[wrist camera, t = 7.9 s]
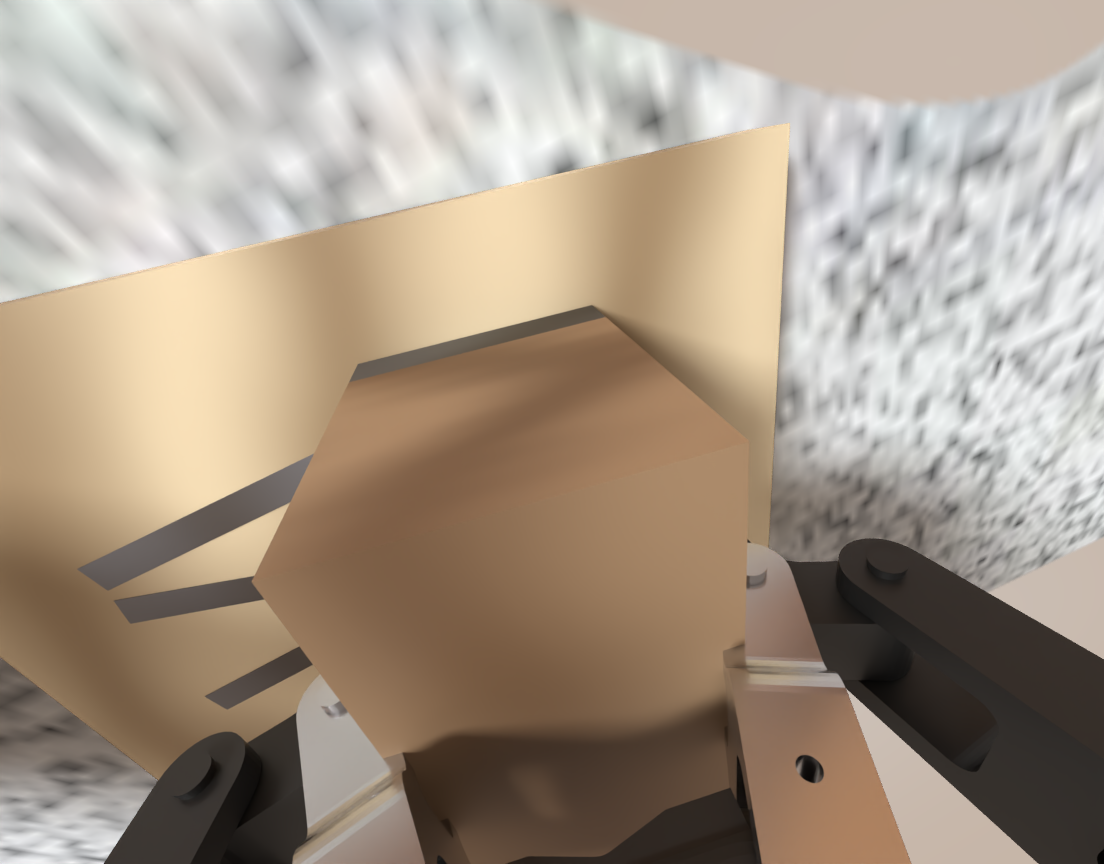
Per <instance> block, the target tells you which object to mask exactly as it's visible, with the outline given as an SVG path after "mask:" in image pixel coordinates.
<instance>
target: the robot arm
mask: <svg viewBox="0 0 1104 864" xmlns="http://www.w3.org/2000/svg"><path fill="white" fill-rule="evenodd" d="M723 673H724V680H725V687H726V696H727V709H728V726H726V727H724V742H725V750H726V758H727V767H728V778H729V788H728V789H725V790H722V791H719V792H716V793H713V794H710V795H707V796H704V797H701V798H698V799H695V800H692V801H689V802H686V803H683V804H680V805H678V806H675V807H672V808H669V809H666V810H664V811H663V812H662V813H660V814H659V815H658V816H657V817H655V818H654V819H653V820H651V821H650V822H649V823H647V824H646V825H645V826H643V827H642V828H641V829H639V830H638V831H637V832H635V833H634V834H633V835H631V836H630V837H629V838H627V839H626V840H625V841H623V842H622V843H621V844H619V845H618V846H617V847H615V848H614V849H613V850H611V851H610V852H608V853H607V854H605V855H602V856H597V857H561V856H527V857H524V858H521V859H518V860H515V861H512V862H509V863H506V864H911V861H910V858H909V856H908V853H907V850H906V848H905V845H904V842H903V840H902V837H901V834H900V832H899V829H898V826H897V824H896V821H895V818H894V816H893V813H892V810H891V807H890V805H889V802H888V799H887V797H886V794H885V792H884V789H883V786H882V783H881V781H880V778H879V775H878V773H877V770H876V767H875V765H874V762H873V759H872V757H871V754H870V751H869V749H868V746H867V743H866V741H865V738H864V735H863V733H862V730H861V727H860V725H859V722H858V719H857V717H856V714H855V711H854V708H853V706H852V703H851V701H850V698H849V695H848V693H847V690H848V691H850V692H851V693H852V694H853V695H854V696H855V697H856V698H857V699H858V700H859V701H860V702H862V703H863V704H864V705H865V706H866V707H867V708H868V709H869V710H870V711H871V712H873V713H874V714H875V715H876V716H877V717H878V718H879V719H880V720H881V721H882V722H883V723H885V724H886V725H887V726H888V727H889V728H890V729H891V730H892V731H893V732H894V733H896V734H897V735H898V736H899V737H900V738H901V739H902V740H903V741H904V742H905V743H907V744H908V745H909V746H910V747H911V748H912V749H913V750H914V751H915V752H916V753H918V754H919V755H920V756H921V757H922V758H923V759H924V760H925V761H926V762H927V763H929V764H930V765H931V766H932V767H933V768H934V769H935V770H936V771H937V772H938V773H940V774H941V775H942V776H943V777H944V778H945V779H946V780H947V781H948V782H949V783H951V784H952V785H953V786H954V787H955V788H956V789H957V790H958V791H959V792H960V793H962V794H963V795H964V796H965V797H966V798H967V799H968V800H969V801H970V802H971V803H973V804H974V805H975V806H976V807H977V808H978V809H979V810H980V811H981V812H982V813H983V814H985V815H986V816H987V817H988V818H989V819H990V820H991V821H992V822H993V823H994V824H996V825H997V826H998V827H999V828H1000V829H1001V830H1002V831H1003V832H1004V833H1006V834H1007V835H1008V836H1009V837H1010V838H1011V839H1012V840H1013V841H1014V842H1015V843H1016V844H1017V845H1019V846H1020V847H1021V848H1022V849H1023V850H1024V851H1025V852H1026V853H1027V854H1028V855H1030V856H1031V857H1032V858H1033V859H1034V860H1035V861H1036V862H1037V863H1039V864H1104V659H1102V658H1100V657H1098V656H1097V655H1095V654H1093V653H1092V652H1090V651H1088V650H1086V649H1085V648H1083V647H1081V646H1079V645H1078V644H1076V643H1074V642H1072V641H1071V640H1069V639H1067V638H1065V637H1064V636H1062V635H1060V634H1058V633H1057V632H1055V631H1053V630H1052V629H1050V628H1048V627H1046V626H1044V625H1043V624H1041V623H1039V622H1038V621H1036V620H1034V619H1032V618H1031V617H1029V616H1027V615H1025V614H1024V613H1022V612H1020V611H1019V610H1016V609H1015V608H1013V607H1012V606H1010V605H1008V604H1006V603H1005V602H1003V601H1001V600H999V599H998V598H996V597H994V596H992V595H991V594H989V593H987V592H985V591H984V590H982V589H980V588H978V587H977V586H975V585H973V584H971V583H970V582H968V581H966V580H965V579H963V578H961V577H959V576H958V575H956V574H954V573H952V572H951V571H949V570H947V569H945V568H944V567H942V566H940V565H938V564H937V563H935V562H933V561H931V560H930V559H928V558H926V557H924V556H923V555H921V554H919V553H917V552H916V551H914V550H912V549H910V548H908V547H906V546H904V545H901V544H899V543H895V542H892V541H888V540H883V539H861V540H856V541H853V542H851V543H849V544H847V545H846V546H845V547H844V548H843V549H842V550H841V552H840V554H839V559H838V561H836V562H792V561H786V560H785V559H784V558H783V557H782V556H781V555H779V554H778V553H777V552H775V551H774V550H772V549H770V548H768V547H765V546H762V545H759V544H754V543H751V542H750V541H749V540H748V538H747V577H746V621H745V644H742V645H739V646H736V647H733V648H730V649H727V650H723ZM846 689H847V690H846ZM104 864H471V863H470V861H469V859H468V857H467V855H466V853H465V850H464V848H463V846H462V843H461V841H460V838H459V835H458V832H457V830H456V829H455V827H454V826H453V824H452V823H451V822H450V820H449V819H448V818H447V819H444V820H441V821H440V820H439V819H438V818H437V816H436V815H435V813H434V812H433V811H432V809H431V808H430V806H429V805H428V803H427V801H426V799H425V797H424V795H423V792H422V790H421V788H420V785H419V783H418V780H417V777H416V774H415V771H414V769H413V767H412V766H411V764H410V763H409V761H408V760H407V758H406V757H405V756H404V754H403V753H399V754H396V755H393V756H389V757H386V758H382V757H381V755H380V754H379V753H378V751H377V750H376V749H375V747H374V746H373V745H372V743H371V742H370V741H369V739H368V738H367V737H366V735H365V734H364V733H363V731H362V730H361V729H360V727H359V726H358V725H357V723H356V722H355V720H354V719H353V718H352V716H351V715H350V714H349V712H348V711H347V710H346V708H345V707H344V706H343V704H342V703H341V702H340V700H339V699H338V698H337V696H336V695H335V694H334V692H333V691H332V690H331V688H330V687H329V686H328V684H327V683H326V681H325V680H324V679H323V677H322V676H321V675H319V676H318V677H317V678H316V679H315V680H314V681H313V682H312V683H311V684H310V686H309V687H308V688H307V690H306V691H305V693H304V694H303V696H302V698H301V700H300V703H299V706H298V709H297V712H296V713H295V714H293V715H292V716H290V717H289V718H287V719H286V720H284V721H283V722H281V723H279V724H278V725H276V726H274V727H273V728H271V729H269V730H268V731H266V732H264V733H263V734H261V735H259V736H258V737H256V738H254V739H253V740H251V741H249V742H248V743H247V742H246V741H245V740H244V739H243V738H242V737H241V736H239V735H238V734H237V733H234V732H220V733H216V734H213V735H210V736H208V737H206V738H204V739H202V740H200V741H199V742H197V743H195V744H194V745H193V746H191V747H190V748H189V749H187V750H186V751H185V752H184V753H182V754H181V755H180V756H179V757H178V758H177V759H176V760H175V761H174V762H173V763H172V764H171V765H170V766H169V768H168V769H167V770H166V771H165V772H164V773H163V775H162V776H161V778H160V779H159V780H158V782H157V783H156V785H155V786H154V788H153V789H152V791H151V792H150V794H149V796H148V797H147V799H146V800H145V802H144V803H143V805H142V806H141V808H140V809H139V811H138V812H137V814H136V815H135V817H134V818H133V820H132V821H131V823H130V824H129V826H128V827H127V829H126V830H125V832H124V834H123V835H122V837H121V838H120V840H119V841H118V843H117V844H116V846H115V847H114V849H113V850H112V852H111V853H110V855H109V856H108V858H107V859H106V861H105V862H104Z"/></svg>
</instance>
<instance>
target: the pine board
mask: <svg viewBox="0 0 1104 864" xmlns="http://www.w3.org/2000/svg"><path fill="white" fill-rule="evenodd" d="M789 134H790V123H787V124H781V125H775V126H769V127H763V128H757V129H751V130H746V131H741V132H737V133H733V134H728V135H724V136H720V137H715V138H711V139H707V140H702V141H698V142H694V143H690V144H685V145H681V146H677V147H672V148H668V149H664V150H659V151H655V152H651V153H646V154H642V155H638V156H633V157H629V158H625V159H620V160H616V161H612V162H608V163H603V164H599V165H595V166H590V167H586V168H582V169H577V170H573V171H569V172H564V173H560V174H556V175H551V176H547V177H543V178H538V179H534V180H530V181H526V182H521V183H517V184H513V185H508V186H504V187H500V188H495V189H491V190H487V191H482V192H478V193H474V194H469V195H465V196H461V197H456V198H452V199H448V200H444V201H439V202H435V203H431V204H426V205H422V206H418V207H413V208H409V209H405V210H400V211H396V212H392V213H387V214H383V215H379V216H374V217H370V218H366V219H362V220H357V221H353V222H349V223H344V224H340V225H336V226H331V227H327V228H323V229H318V230H314V231H310V232H305V233H301V234H297V235H292V236H288V237H284V238H280V239H275V240H271V241H267V242H262V243H258V244H254V245H249V246H245V247H241V248H236V249H232V250H228V251H223V252H219V253H215V254H210V255H206V256H202V257H198V258H193V259H189V260H185V261H180V262H176V263H172V264H167V265H163V266H159V267H154V268H150V269H146V270H141V271H137V272H133V273H128V274H124V275H120V276H116V277H111V278H107V279H103V280H98V281H94V282H90V283H85V284H81V285H77V286H72V287H68V288H64V289H59V290H55V291H51V292H46V293H42V294H38V295H34V296H29V297H25V298H21V299H16V300H12V301H8V302H3V303H0V657H1V658H2V659H3V660H4V661H6V662H7V663H8V664H10V665H11V666H12V667H13V668H15V669H16V670H17V671H19V672H20V673H21V674H22V675H24V676H25V677H26V678H28V679H29V680H30V681H31V682H33V683H34V684H35V685H37V686H38V687H39V688H40V689H42V690H43V691H44V692H46V693H47V694H48V695H49V696H51V697H52V698H53V699H55V700H56V701H57V702H58V703H60V704H61V705H62V706H64V707H65V708H66V709H67V710H69V711H70V712H71V713H72V714H74V715H75V716H76V717H78V718H79V719H80V720H81V721H83V722H84V723H85V724H87V725H88V726H89V727H90V728H92V729H93V730H94V731H96V732H97V733H98V734H99V735H101V736H102V737H103V738H105V739H106V740H107V741H108V742H110V743H111V744H112V745H114V746H115V747H116V748H117V749H119V750H120V751H121V752H123V753H124V754H125V755H126V756H128V757H129V758H130V759H132V760H133V761H134V762H135V763H137V764H138V765H139V766H141V767H142V768H143V769H144V770H146V771H147V772H148V773H150V774H151V775H152V776H153V777H155V778H156V779H157V780H159V779H160V778H161V776H162V775H163V773H164V772H165V771H166V770H167V769H168V768H169V766H170V765H171V764H172V763H173V762H174V761H175V760H176V759H177V758H178V757H179V756H180V755H181V754H182V753H184V752H185V751H186V750H187V749H189V748H190V747H191V746H193V745H194V744H195V743H197V742H199V741H200V740H202V739H204V738H206V737H208V736H210V735H213V734H216V733H220V732H234V733H237V734H238V735H239V736H241V737H242V738H243V739H244V740H245V741H246V742H247V743H248V742H249V741H251V740H253V739H254V738H256V737H258V736H259V735H261V734H263V733H264V732H266V731H268V730H269V729H271V728H273V727H274V726H276V725H278V724H279V723H281V722H283V721H284V720H286V719H287V718H289V717H290V716H292V715H293V714H295V713H296V712H297V709H298V706H299V703H300V700H301V698H302V696H303V694H304V693H305V691H306V690H307V688H308V687H309V686H310V684H311V683H312V682H313V681H314V680H315V679H316V678H317V677H318V676H319V675H320V673H319V672H318V671H317V669H316V668H315V667H314V665H313V664H312V663H311V661H310V660H309V659H308V657H307V656H306V655H305V653H304V652H303V651H302V649H301V648H300V647H299V645H298V644H297V642H296V641H295V640H294V638H293V637H292V636H291V634H290V633H289V632H288V630H287V629H286V628H285V626H284V625H283V624H282V622H281V621H280V620H279V618H278V617H277V616H276V614H275V613H274V612H273V610H272V609H271V608H270V606H269V605H268V603H267V602H266V601H265V599H264V598H263V597H262V595H261V594H260V593H259V591H258V590H257V589H256V587H255V586H254V585H253V583H252V580H253V578H254V576H255V574H256V571H257V569H258V567H259V565H260V563H261V561H262V559H263V557H264V555H265V553H266V551H267V549H268V547H269V545H270V543H271V541H272V539H273V537H274V535H275V533H276V531H277V528H278V526H279V524H280V522H281V520H282V518H283V516H284V514H285V512H286V510H287V508H288V506H289V504H290V502H291V500H292V498H293V496H294V494H295V492H296V490H297V488H298V486H299V483H300V481H301V479H302V477H303V475H304V473H305V471H306V469H307V467H308V465H309V463H310V461H311V459H312V457H313V455H314V453H315V451H316V449H317V447H318V445H319V443H320V440H321V438H322V436H323V434H324V432H325V430H326V428H327V426H328V424H329V422H330V420H331V418H332V416H333V414H334V412H335V410H336V408H337V406H338V404H339V402H340V400H341V397H342V395H343V393H344V391H345V389H346V387H347V385H348V383H349V381H350V379H351V377H352V375H353V373H354V371H355V369H356V367H357V365H358V364H360V363H364V362H368V361H372V360H376V359H380V358H384V357H388V356H392V355H396V354H400V353H404V352H408V351H411V350H415V349H419V348H423V347H427V346H431V345H435V344H439V343H443V342H447V341H451V340H455V339H459V338H463V337H467V336H471V335H475V334H479V333H483V332H487V331H491V330H495V329H499V328H503V327H507V326H511V325H515V324H519V323H523V322H527V321H531V320H535V319H539V318H542V317H546V316H550V315H554V314H558V313H562V312H566V311H570V310H574V309H578V308H582V307H586V306H590V305H592V306H594V307H595V308H596V309H597V310H598V311H599V312H601V313H602V314H603V315H604V316H605V317H606V318H608V319H609V320H610V321H611V322H612V323H613V324H614V325H616V326H617V327H618V328H619V329H620V330H621V331H623V332H624V333H625V334H626V335H627V336H628V337H629V338H631V339H632V340H633V341H634V342H635V343H636V344H638V345H639V346H640V347H641V348H642V349H643V350H644V351H646V352H647V353H648V354H649V355H650V356H651V357H653V358H654V359H655V360H656V361H657V362H658V363H659V364H661V365H662V366H663V367H664V368H665V369H666V370H668V371H669V372H670V373H671V374H672V375H673V376H675V377H676V378H677V379H678V380H679V381H680V382H681V383H683V384H684V385H685V386H686V387H687V388H688V389H690V390H691V391H692V392H693V393H694V394H695V395H696V396H698V397H699V398H700V399H701V400H702V401H703V402H705V403H706V404H707V405H708V406H709V407H710V408H711V409H713V410H714V411H715V412H716V413H717V414H718V415H720V416H721V417H722V418H723V419H724V420H725V421H727V422H728V423H729V424H730V425H731V426H732V427H733V428H735V429H736V430H737V431H738V432H739V433H740V434H742V435H743V436H744V437H745V438H746V439H747V440H748V441H750V444H749V488H748V533H747V538H748V540H749V541H750V542H751V543H754V544H759V545H762V546H765V547H768V548H769V529H770V509H771V489H772V470H773V450H774V430H775V410H776V391H777V371H778V351H779V331H780V312H781V292H782V272H783V252H784V233H785V213H786V193H787V173H788V153H789Z"/></svg>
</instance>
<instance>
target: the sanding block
mask: <svg viewBox="0 0 1104 864" xmlns="http://www.w3.org/2000/svg"><path fill="white" fill-rule="evenodd" d="M749 444H750V441H748V440H747V439H746V438H745V437H744V436H743V435H742V434H740V433H739V432H738V431H737V430H736V429H735V428H733V427H732V426H731V425H730V424H729V423H728V422H727V421H725V420H724V419H723V418H722V417H721V416H720V415H718V414H717V413H716V412H715V411H714V410H713V409H711V408H710V407H709V406H708V405H707V404H706V403H705V402H703V401H702V400H701V399H700V398H699V397H698V396H696V395H695V394H694V393H693V392H692V391H691V390H690V389H688V388H687V387H686V386H685V385H684V384H683V383H681V382H680V381H679V380H678V379H677V378H676V377H675V376H673V375H672V374H671V373H670V372H669V371H668V370H666V369H665V368H664V367H663V366H662V365H661V364H659V363H658V362H657V361H656V360H655V359H654V358H653V357H651V356H650V355H649V354H648V353H647V352H646V351H644V350H643V349H642V348H641V347H640V346H639V345H638V344H636V343H635V342H634V341H633V340H632V339H631V338H629V337H628V336H627V335H626V334H625V333H624V332H623V331H621V330H620V329H619V328H618V327H617V326H616V325H614V324H613V323H612V322H611V321H610V320H609V319H608V318H606V317H605V316H604V315H603V314H602V313H601V312H599V311H598V310H597V309H596V308H595V307H594V306H592V305H590V306H586V307H582V308H578V309H574V310H570V311H566V312H562V313H558V314H554V315H550V316H546V317H542V318H539V319H535V320H531V321H527V322H523V323H519V324H515V325H511V326H507V327H503V328H499V329H495V330H491V331H487V332H483V333H479V334H475V335H471V336H467V337H463V338H459V339H455V340H451V341H447V342H443V343H439V344H435V345H431V346H427V347H423V348H419V349H415V350H411V351H408V352H404V353H400V354H396V355H392V356H388V357H384V358H380V359H376V360H372V361H368V362H364V363H360V364H358V365H357V367H356V369H355V371H354V373H353V375H352V377H351V379H350V381H349V383H348V385H347V387H346V389H345V391H344V393H343V395H342V397H341V400H340V402H339V404H338V406H337V408H336V410H335V412H334V414H333V416H332V418H331V420H330V422H329V424H328V426H327V428H326V430H325V432H324V434H323V436H322V438H321V440H320V443H319V445H318V447H317V449H316V451H315V453H314V455H313V457H312V459H311V461H310V463H309V465H308V467H307V469H306V471H305V473H304V475H303V477H302V479H301V481H300V483H299V486H298V488H297V490H296V492H295V494H294V496H293V498H292V500H291V502H290V504H289V506H288V508H287V510H286V512H285V514H284V516H283V518H282V520H281V522H280V524H279V526H278V528H277V531H276V533H275V535H274V537H273V539H272V541H271V543H270V545H269V547H268V549H267V551H266V553H265V555H264V557H263V559H262V561H261V563H260V565H259V567H258V569H257V571H256V574H255V576H254V578H253V580H252V583H253V585H254V586H255V587H256V589H257V590H258V591H259V593H260V594H261V595H262V597H263V598H264V599H265V601H266V602H267V603H268V605H269V606H270V608H271V609H272V610H273V612H274V613H275V614H276V616H277V617H278V618H279V620H280V621H281V622H282V624H283V625H284V626H285V628H286V629H287V630H288V632H289V633H290V634H291V636H292V637H293V638H294V640H295V641H296V642H297V644H298V645H299V647H300V648H301V649H302V651H303V652H304V653H305V655H306V656H307V657H308V659H309V660H310V661H311V663H312V664H313V665H314V667H315V668H316V669H317V671H318V672H319V673H320V675H321V676H322V677H323V679H324V680H325V681H326V683H327V684H328V686H329V687H330V688H331V690H332V691H333V692H334V694H335V695H336V696H337V698H338V699H339V700H340V702H341V703H342V704H343V706H344V707H345V708H346V710H347V711H348V712H349V714H350V715H351V716H352V718H353V719H354V720H355V722H356V723H357V725H358V726H359V727H360V729H361V730H362V731H363V733H364V734H365V735H366V737H367V738H368V739H369V741H370V742H371V743H372V745H373V746H374V747H375V749H376V750H377V751H378V753H379V754H380V755H381V757H382V758H386V757H389V756H393V755H396V754H399V753H403V754H404V756H405V757H406V758H407V760H408V761H409V763H410V764H411V766H412V767H413V769H414V771H415V774H416V777H417V780H418V783H419V785H420V788H421V790H422V792H423V795H424V797H425V799H426V801H427V803H428V805H429V806H430V808H431V809H432V811H433V812H434V813H435V815H436V816H437V818H438V819H439V820H440V821H441V820H444V819H447V818H448V819H449V820H450V822H451V823H452V824H453V826H454V827H455V829H456V830H457V832H458V835H459V838H460V841H461V843H462V846H463V848H464V850H465V853H466V855H467V857H468V859H469V861H470V863H471V864H506V863H509V862H512V861H515V860H518V859H521V858H524V857H527V856H561V857H597V856H602V855H605V854H607V853H608V852H610V851H611V850H613V849H614V848H615V847H617V846H618V845H619V844H621V843H622V842H623V841H625V840H626V839H627V838H629V837H630V836H631V835H633V834H634V833H635V832H637V831H638V830H639V829H641V828H642V827H643V826H645V825H646V824H647V823H649V822H650V821H651V820H653V819H654V818H655V817H657V816H658V815H659V814H660V813H662V812H663V811H664V810H666V809H669V808H672V807H675V806H678V805H680V804H683V803H686V802H689V801H692V800H695V799H698V798H701V797H704V796H707V795H710V794H713V793H716V792H719V791H722V790H725V789H728V788H729V778H728V767H727V758H726V750H725V742H724V727H726V726H728V709H727V696H726V687H725V680H724V673H723V650H727V649H730V648H733V647H736V646H739V645H742V644H745V621H746V577H747V533H748V488H749Z"/></svg>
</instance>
